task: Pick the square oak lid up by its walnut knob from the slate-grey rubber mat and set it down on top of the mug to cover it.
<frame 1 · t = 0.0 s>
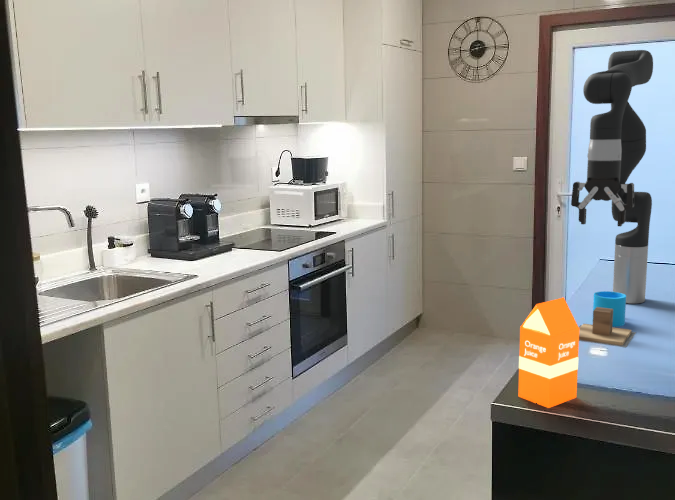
hand: (601, 225, 171), 29 cm above the countertop, fingers open, 8 cm apart
rubber mat: (602, 337, 179), on the countertop
oak lid: (602, 335, 179), resting on rubber mat
orange juice: (547, 397, 141), on the countertop
mug: (610, 323, 192), on the countertop
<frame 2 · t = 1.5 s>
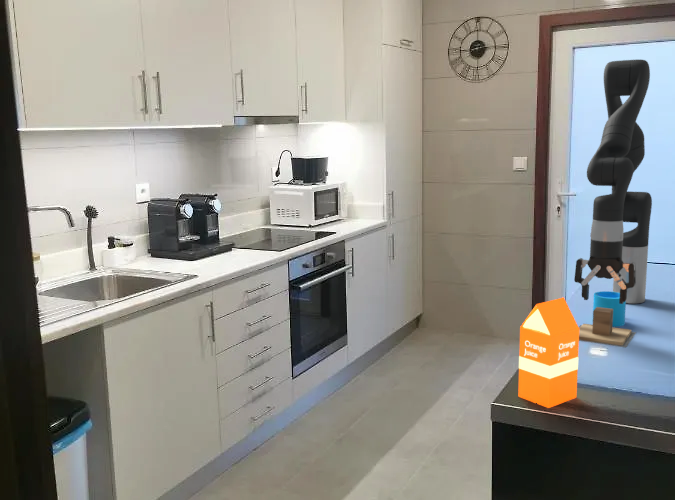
hand: (603, 301, 177), 9 cm above the countertop, fingers open, 8 cm apart
nothing on the countertop moved.
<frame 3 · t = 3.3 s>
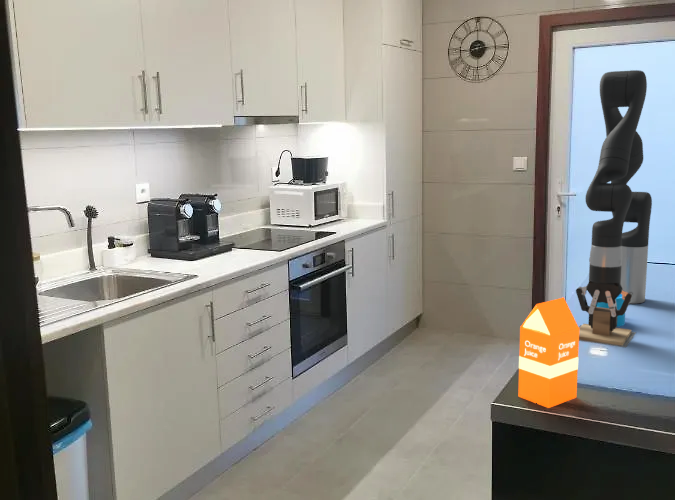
hand: (602, 328, 178), 2 cm above the countertop, fingers closed on oak lid, 4 cm apart
oak lid: (602, 335, 179), resting on rubber mat, touching gripper
everything else where it was.
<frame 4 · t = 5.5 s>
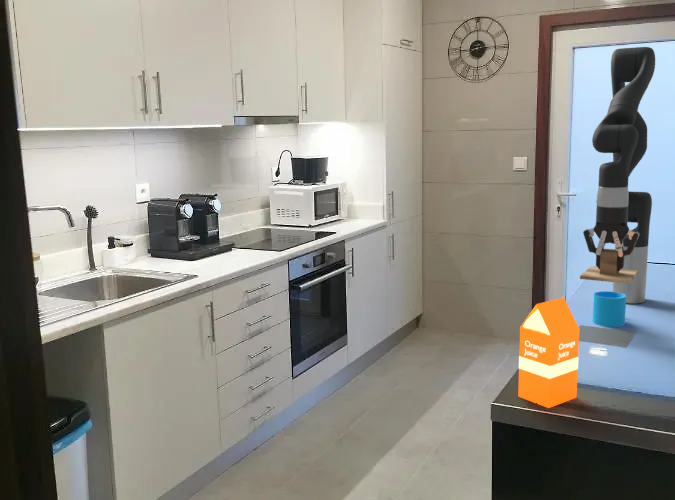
hand: (609, 269, 182), 16 cm above the countertop, fingers closed on oak lid, 4 cm apart
oak lid: (609, 276, 182), point 14 cm above the countertop, touching gripper
everything else where it was.
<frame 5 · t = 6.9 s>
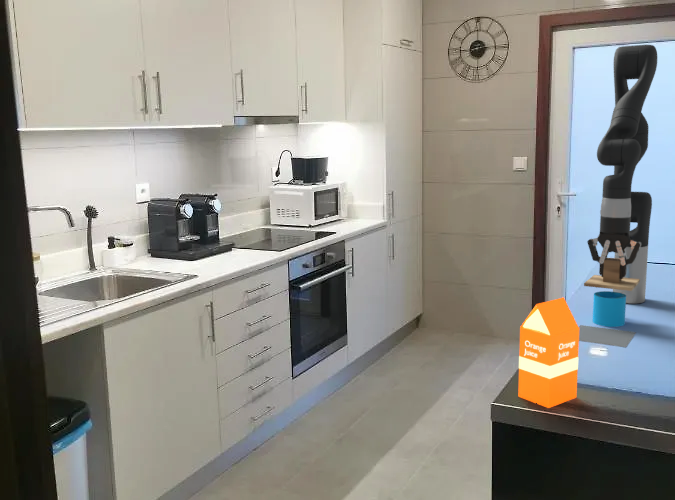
hand: (612, 277, 189), 13 cm above the countertop, fingers closed on oak lid, 4 cm apart
oak lid: (612, 283, 190), point 11 cm above the countertop, touching gripper
everything else where it was.
when the fingers open (12 cm above the countertop, at t = 7.8 s): oak lid drops 2 cm, resting on mug.
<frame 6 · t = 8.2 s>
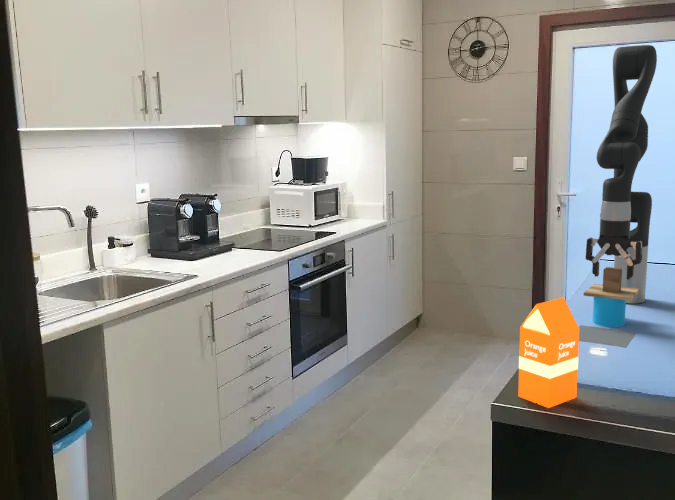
hand: (612, 277, 189), 13 cm above the countertop, fingers open, 8 cm apart
oak lid: (611, 293, 190), point 8 cm above the countertop, touching mug
mug: (610, 323, 192), on the countertop, touching oak lid
everything else where it was.
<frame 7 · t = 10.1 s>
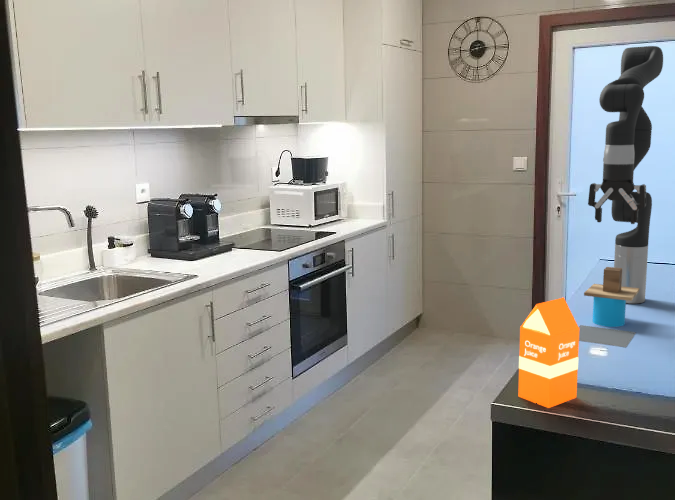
hand: (615, 222, 188), 27 cm above the countertop, fingers open, 8 cm apart
nothing on the countertop moved.
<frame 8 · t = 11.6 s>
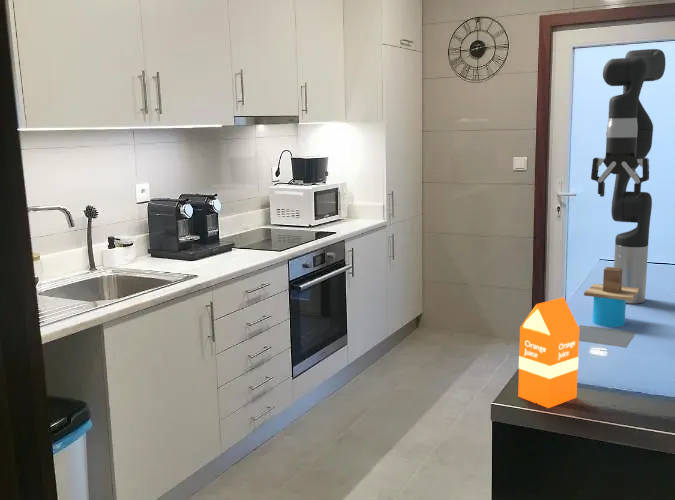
hand: (618, 196, 188), 34 cm above the countertop, fingers open, 8 cm apart
nothing on the countertop moved.
at the end: oak lid 0.3 cm off-centre on the mug, point 8.4 cm above the mug's base; oak lid tilted 0°; mug tilted 0° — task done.
